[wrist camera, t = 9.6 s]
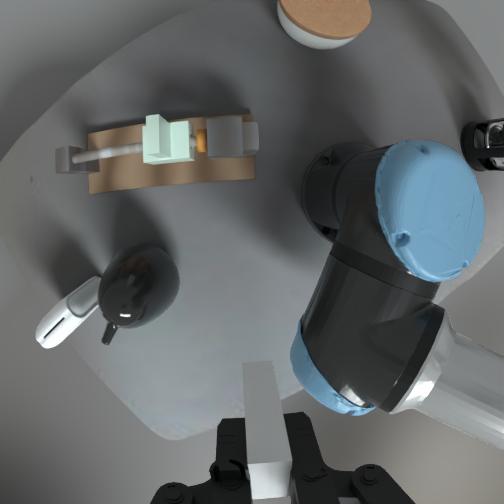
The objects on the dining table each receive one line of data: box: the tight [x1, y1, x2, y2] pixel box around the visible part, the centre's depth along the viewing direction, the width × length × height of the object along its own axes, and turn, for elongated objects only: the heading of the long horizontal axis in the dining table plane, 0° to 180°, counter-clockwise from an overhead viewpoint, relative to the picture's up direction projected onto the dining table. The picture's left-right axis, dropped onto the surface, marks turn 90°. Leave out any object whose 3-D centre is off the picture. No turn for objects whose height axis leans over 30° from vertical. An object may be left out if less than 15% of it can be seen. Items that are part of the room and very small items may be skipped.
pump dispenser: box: [97, 243, 180, 345], centre depth 36 cm, size 10×10×15 cm
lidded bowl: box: [277, 0, 371, 49], centre depth 31 cm, size 13×13×11 cm
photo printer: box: [36, 276, 101, 348], centre depth 38 cm, size 10×4×12 cm, turn 126°
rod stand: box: [55, 114, 259, 194], centre depth 34 cm, size 24×9×11 cm, turn 93°
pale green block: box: [142, 114, 195, 165], centre depth 29 cm, size 5×4×9 cm
